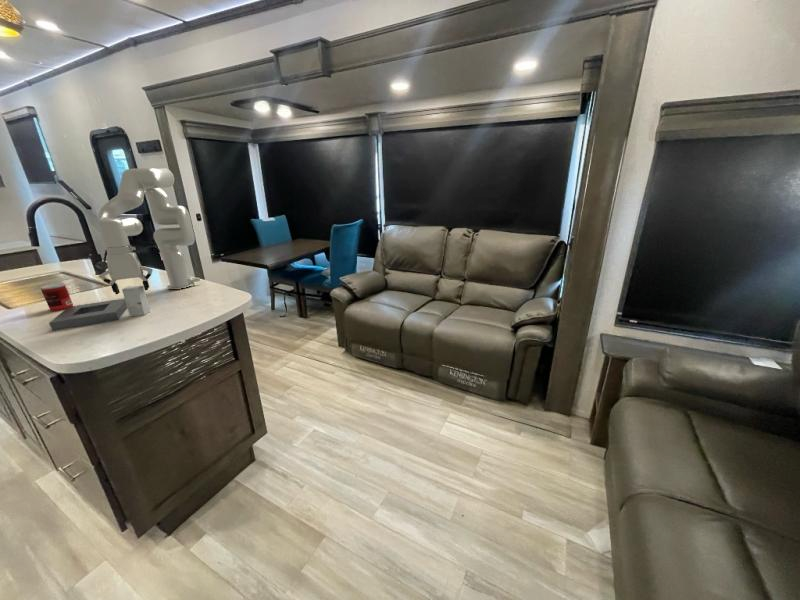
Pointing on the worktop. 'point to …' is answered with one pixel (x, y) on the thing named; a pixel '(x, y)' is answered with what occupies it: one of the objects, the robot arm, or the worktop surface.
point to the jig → (89, 314)
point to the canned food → (57, 296)
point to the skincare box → (136, 300)
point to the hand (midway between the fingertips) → (132, 291)
